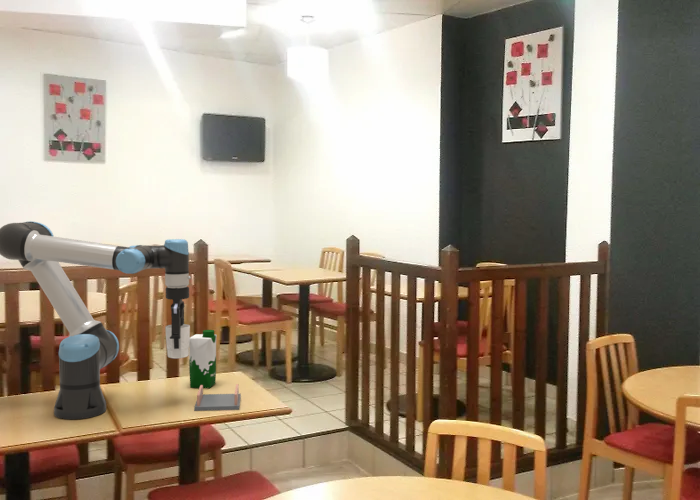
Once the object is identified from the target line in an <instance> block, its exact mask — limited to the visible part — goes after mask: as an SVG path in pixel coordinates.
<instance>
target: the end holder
mask: <svg viewBox="0 0 700 500" xmlns="http://www.w3.org/2000/svg"><path fill="white" fill-rule="evenodd" d="M239 388H240V387H239V383H238V384H237V383H236V384H235V389H234V393H210V394H209V393H207V394H206V393H205V394H204V388H203V385H200V388H198V390H197V393H196V401H195V404H194V406H193V407H194V412H195V411H197V412H198V411H200V412H202V411H203V412H205V411H235V410H236V411H239V410H240V406H241V397H242V396H241V393H239Z"/></svg>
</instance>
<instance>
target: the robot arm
mask: <svg viewBox="0 0 700 500" xmlns="http://www.w3.org/2000/svg"><path fill="white" fill-rule="evenodd" d="M0 256H2V257H3V258H5V259H8V260H13V261H18V262H19V264H20V265H21V268H22V269H24V270H28V271H30V272H31V274H32V275H33V277H34V279H36V282H37V283H38V284H39V286H40V288H41V290H42V291H43V292H44V294H45V297H47V299H48V300H49V303H50V304H51V306H52V307H53V309H54V310H55V313H57V315H58V317H59V318H60V321H61V322H62V324H63V325H64V327H65V329H66V330H67V332H68V333H69V335H68V336H67V337H65V338H64V339H62V340H61V342H60V344H59V346H58V347H59V349H58V361H59V362H58V363H59V364H58V365H59V367H58V368H59V369H58V370H59V391H58V395H57V397H56V400H55V403H54V405H53V406H54V408H53V415H54V417H56V418H58V419H62V418H63V419H64V420H80V419H82V420H83V419H89V418H93V417H97V416H99V415H102V414H104V413H105V412H106V411H107V401H106V399H105V397H104V392H103V391H102V388H101V375H100V374H101V369H103V368H104V367H107V366H108V365H110V364H111V363H112V362H113V361H114V360H115V359H116V357H118V354H119V351H120V343H119V342H120V341H119V339H118V337H117V336H116V335H115V333H114V332H113V331H110V330H108V329H106V327H105V326H104V324H103V323H102V322H101V320H95V319H94V318H93V316H92V314H91V312H90V311H89V309H88V308H87V306H86V304H85V303H84V301H83V299H82V298H81V297H80V294H79V293H78V291H77V290H76V289H75V287H74V285H73V283H72V282H71V280H70V279H69V277H68V275H67V274H66V272H65V271H64V269H63V266H61V264H60V263H63V264H64V263H65V264H71V265H79V266H87V267H93V268H100V269H106V270H107V269H108V270H114V271H120V272H122V273H124V274H127V275H130V274H132V275H133V274H137V273H139V272H142V271H146V270H147V269H164V270H165V271H164V272H165V273H164V280H165V281H164V285H165V286H166V288H165V299H167V300H172V303H171V304H170V310H171V312H170V313H171V314H170V315H171V317H170V318H171V325H172V332H171V337H170V339H172V353H173V358H172V359H182V358H181V338H180V337H181V336H180V331H181V329H180V328H181V326H182V325H183V324H185V301H184V300H187V299H189V298H190V287H189V285H190V279H192V277H191V276H190V275H189V273H190V271H189V269H190V267H189V266H190V265H189V264H190V263H189V261H190V258H189V257H190V251H189V242H188V241H187V240H186V239H182V238H181V239H180V238H176V239H174V238H172V239H170V238H168V239H165V240H164V244H163V245H161V244H160V245H144V244H139V245H138V244H137V245H130V246H122V245H114V244H108V243H101V242H93V241H88V240H87V241H86V240H79V239H72V238H67V237H60V236H54V234H53V231H52V230H51V229H50V228H49V227H48V226H47V225H46V224H44V223H42V222H37V221H31V220H30V221H23V222H10V223H7V224H5V225H3V226H1V227H0ZM63 419H62V420H63Z"/></svg>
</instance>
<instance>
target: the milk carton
mask: <svg viewBox="0 0 700 500" xmlns="http://www.w3.org/2000/svg"><path fill="white" fill-rule="evenodd" d="M217 337H218V336H217V334H215V330H213V329H204V330H202V333H201V334H198V333H196V334H194V335H191V336H190V341H189V356H188V358H189V360H188V363H189V364H188V365H189V367H188V368H189V387H190V389H199V388H200V385H203V389H211V388H212V387H213V386H214V385H215V384H216V379H217Z"/></svg>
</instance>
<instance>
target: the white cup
mask: <svg viewBox="0 0 700 500" xmlns="http://www.w3.org/2000/svg"><path fill="white" fill-rule="evenodd" d="M180 329H181V331H180V336H181V337H180V338H181V358H180V359H183V358H184V359H185V358H187V357H189V341H190V337H191V336H190V335H191V325H190V324H186V323H184V324H183V325H182V326H181V328H180ZM164 330H165V342H166V353H167V355H166V356H167V357H168V358H170V359H173V353H172V339H170V337H171V332H172V324H168V325H165V329H164Z"/></svg>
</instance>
